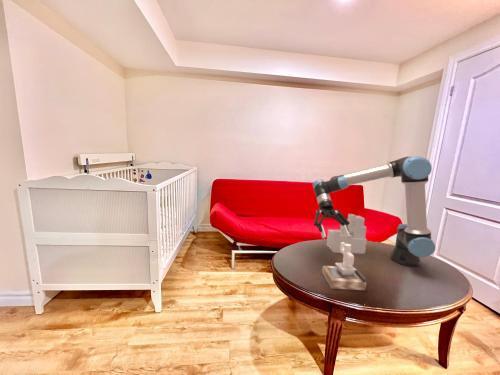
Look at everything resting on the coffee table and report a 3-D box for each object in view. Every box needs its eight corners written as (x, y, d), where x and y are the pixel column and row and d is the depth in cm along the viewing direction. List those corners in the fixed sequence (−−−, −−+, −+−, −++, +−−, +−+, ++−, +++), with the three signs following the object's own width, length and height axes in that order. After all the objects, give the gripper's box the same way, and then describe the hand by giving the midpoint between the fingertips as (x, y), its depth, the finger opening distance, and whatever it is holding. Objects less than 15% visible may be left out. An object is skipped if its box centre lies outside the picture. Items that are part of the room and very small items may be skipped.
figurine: (343, 278, 103) (347, 248, 101) (332, 268, 113) (335, 240, 110) (357, 277, 105) (360, 248, 102) (345, 267, 114) (348, 240, 112)
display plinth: (352, 274, 116) (353, 264, 115) (365, 290, 102) (366, 279, 101) (322, 272, 116) (323, 263, 115) (331, 288, 102) (332, 277, 101)
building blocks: (333, 252, 142) (337, 215, 139) (326, 245, 154) (330, 211, 150) (365, 253, 143) (370, 216, 140) (355, 246, 155) (360, 212, 151)
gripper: (341, 206, 132) (353, 239, 120) (302, 206, 128) (311, 240, 116) (347, 200, 126) (361, 233, 114) (307, 199, 122) (317, 234, 110)
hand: (336, 237), depth 115 cm, fingers open, 13 cm apart
